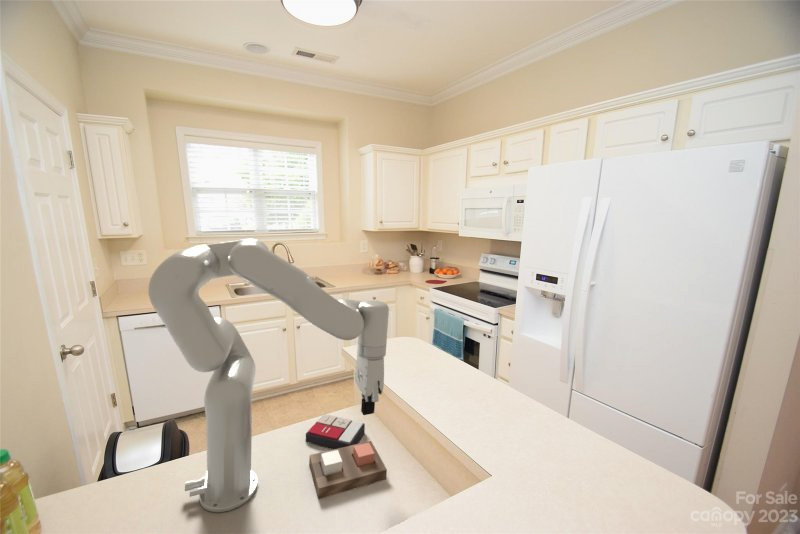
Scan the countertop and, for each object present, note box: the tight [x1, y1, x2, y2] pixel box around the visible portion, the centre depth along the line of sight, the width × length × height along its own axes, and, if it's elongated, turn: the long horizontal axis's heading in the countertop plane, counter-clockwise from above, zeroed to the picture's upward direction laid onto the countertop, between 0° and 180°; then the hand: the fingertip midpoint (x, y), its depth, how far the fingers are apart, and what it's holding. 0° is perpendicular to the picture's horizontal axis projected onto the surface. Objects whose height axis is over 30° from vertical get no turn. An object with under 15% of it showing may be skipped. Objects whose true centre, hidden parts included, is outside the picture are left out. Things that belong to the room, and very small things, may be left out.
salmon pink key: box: [353, 443, 375, 467], centre depth 91 cm, size 4×4×4 cm
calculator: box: [305, 413, 366, 450], centre depth 103 cm, size 11×4×15 cm
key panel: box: [308, 440, 388, 500], centre depth 90 cm, size 18×12×3 cm, turn 115°
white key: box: [321, 450, 342, 476], centre depth 87 cm, size 4×4×4 cm
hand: (367, 412), depth 89 cm, fingers closed
